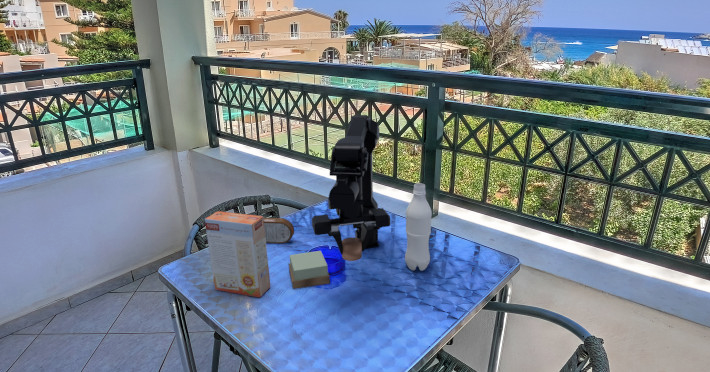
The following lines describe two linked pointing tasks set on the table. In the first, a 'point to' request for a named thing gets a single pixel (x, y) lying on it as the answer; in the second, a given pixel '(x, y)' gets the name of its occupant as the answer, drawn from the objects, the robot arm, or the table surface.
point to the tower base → (308, 281)
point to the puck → (352, 249)
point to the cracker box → (238, 253)
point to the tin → (278, 230)
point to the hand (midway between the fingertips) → (351, 252)
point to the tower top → (308, 265)
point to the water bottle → (418, 229)
